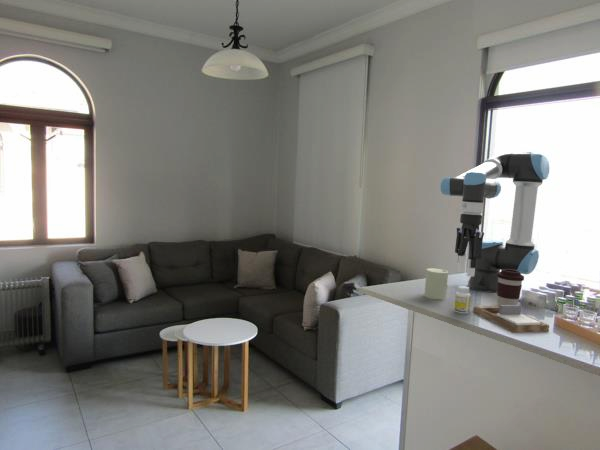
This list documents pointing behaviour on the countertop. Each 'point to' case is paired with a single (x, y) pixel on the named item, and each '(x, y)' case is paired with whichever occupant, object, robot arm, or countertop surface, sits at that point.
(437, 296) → the can
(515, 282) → the coffee cup
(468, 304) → the supplement bottle
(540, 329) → the board
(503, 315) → the lid
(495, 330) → the countertop surface
